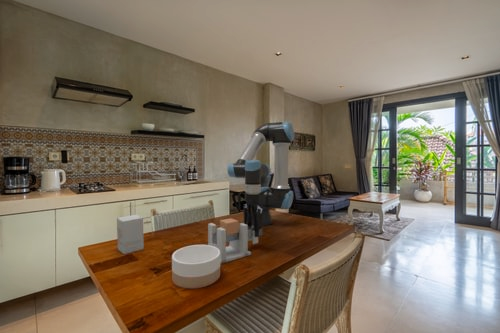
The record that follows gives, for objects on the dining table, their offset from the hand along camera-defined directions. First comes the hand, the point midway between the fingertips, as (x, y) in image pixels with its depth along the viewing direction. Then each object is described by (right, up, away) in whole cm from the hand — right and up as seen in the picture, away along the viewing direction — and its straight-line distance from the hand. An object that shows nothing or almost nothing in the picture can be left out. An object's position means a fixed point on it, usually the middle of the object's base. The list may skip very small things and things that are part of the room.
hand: (252, 241), depth 112 cm
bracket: (-11, -3, -8) cm, 14 cm away
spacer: (-10, +7, -8) cm, 15 cm away
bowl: (-21, -4, -26) cm, 34 cm away
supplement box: (-57, -3, -2) cm, 57 cm away
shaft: (-6, +3, -5) cm, 9 cm away
